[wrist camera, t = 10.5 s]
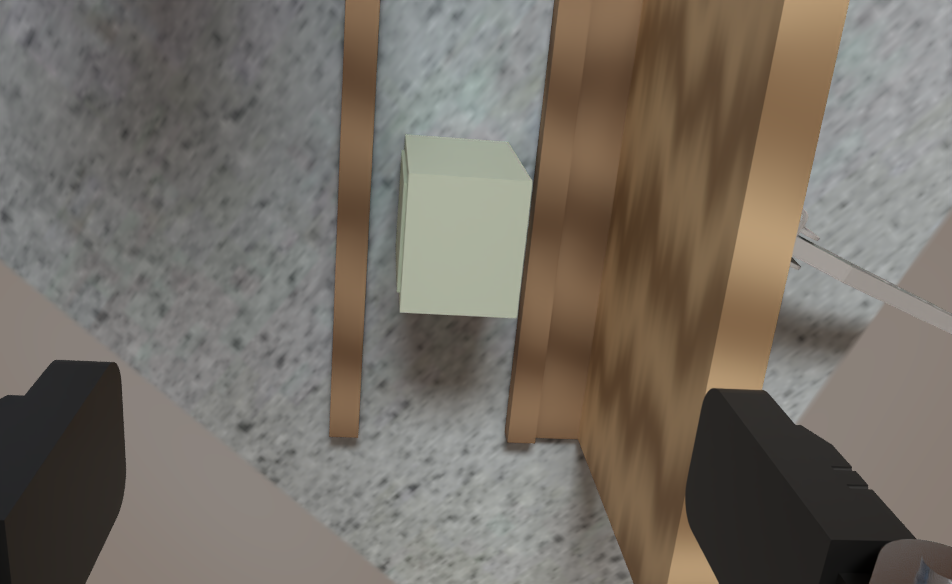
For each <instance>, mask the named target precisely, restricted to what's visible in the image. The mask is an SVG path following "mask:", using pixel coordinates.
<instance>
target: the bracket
mask: <svg viewBox="0 0 952 584" xmlns="http://www.w3.org/2000/svg"><path fill="white" fill-rule="evenodd" d="M801 214H802V215H803V218H802V220H801V221H800V222H799V227H798V231H797V236H796V240H795V244H794V249H793V253H792V255H793V256H794V257H796V258H798V259H800V260H802V261H804V262H806V263H807V264H809V265H811V266H813V267H815V268H817V269H819V270H820V271H822V272H824V273H826V274H828V275H830V276H832V277H834V278H835V279H837V280H839V281H841V282H843V283H845V284H847V285H849V286H851V287H853V288H855V289H858V290H860V291H862V292H864V293H866V294H868V295H870V296H872V297H874V298H876V299H879V300H881V301H883V302H885V303H887V304H889V305H891V306H893V307H895V308H897V309H900V310H902V311H904V312H906V313H908V314H910V315H912V316H914V317H916V318H918V319H920V320H923V321H925V322H927V323H929V324H931V325H933V326H935V327H937V328H939V329H941V330H944V331H946V332H948V333H950V334H952V313H949V312H948V311H946V310H944V309H942V308H940V307H938V306H936V305H934V304H932V303H930V302H928V301H926V300H924V299H922V298H920V297H918V296H916V295H914V294H912V293H910V292H908V291H906V290H904V289H902V288H900V287H898V286H896V285H894V284H892V283H890V282H888V281H886V280H884V279H882V278H880V277H878V276H876V275H874V274H872V273H870V272H868V271H867V270H865V269H863V268H861V267H859V266H857V265H855V264H853V263H851V262H849V261H847V260H845V259H843V258H841V257H839V256H837V255H836V254H834V253H832V252H830V251H828V250H826V249H824V248H822V247H819V246H817V245H816V244H814V243H812V242H810V241H808V240H806V239H804V238H803V237H801V236H799V235H798V234H799V233H800V232H801V233H803V234H804V235H806V236H808V237H810V238H812V239H814V240H816V241H818V240H819V239H820V238H819V237H818V236H817V235H815V234H814V233H813V232H812V231H810V230H809V229H808V228H807V227H806V226H804V225H805V224H806V222H807V220H808V213H807V212H806V211H805V210H804V209H802V213H801ZM790 266H791V267H793V268H795V269H797V270H799V269H800V267H801V266H800V265H799V264H798V263H797V262H796V261H795V260H794V259H793V258H791V262H790Z"/></svg>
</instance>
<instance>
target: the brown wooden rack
mask: <svg viewBox="0 0 952 584" xmlns="http://www.w3.org/2000/svg"><path fill="white" fill-rule="evenodd" d="M848 5H849V0H555V1H554V9H553V18H552V27H551V36H550V44H549V53H548V62H547V70H546V79H545V88H544V96H543V105H542V114H541V122H540V131H539V140H538V148H537V157H536V166H535V174H534V183H533V192H532V200H531V209H530V218H529V226H528V235H527V244H526V252H525V261H524V270H523V278H522V287H521V296H520V304H519V313H518V322H517V330H516V339H515V348H514V356H513V365H512V374H511V383H510V391H509V400H508V409H507V417H506V426H505V434H506V438H507V442H508V443H535V439H536V438H555V439H578V441H579V443H580V446H581V448H582V451H583V453H584V456H585V459H586V461H587V464H588V466H589V469H590V472H591V474H592V477H593V479H594V482H595V484H596V487H597V490H598V492H599V495H600V497H601V500H602V503H603V505H604V508H605V510H606V513H607V516H608V518H609V521H610V523H611V526H612V528H613V531H614V534H615V536H616V539H617V541H618V544H619V547H620V549H621V552H622V554H623V557H624V559H625V562H626V565H627V567H628V570H629V572H630V575H631V578H632V580H633V583H634V584H718V581H717V579H716V577H715V575H714V573H713V571H712V569H711V567H710V565H709V563H708V561H707V559H706V558H705V556H704V554H703V552H702V550H701V548H700V546H699V544H698V542H697V540H696V538H695V536H694V535H693V533H692V531H691V528H690V526H689V523H688V519H687V514H686V506H685V490H686V482H687V477H688V472H689V467H690V462H691V457H692V452H693V447H694V442H695V437H696V432H697V427H698V422H699V417H700V412H701V407H702V403H703V400H704V397H705V395H706V393H707V392H708V391H709V390H710V389H712V388H724V389H749V390H762V386H763V382H764V378H765V373H766V369H767V364H768V360H769V355H770V351H771V346H772V342H773V338H774V333H775V329H776V324H777V320H778V315H779V311H780V307H781V302H782V298H783V293H784V289H785V284H786V280H787V275H788V271H789V267H790V262H791V258H792V253H793V249H794V244H795V240H796V236H797V231H798V227H799V222H800V218H801V213H802V209H803V204H804V200H805V196H806V191H807V187H808V182H809V178H810V173H811V169H812V165H813V160H814V156H815V151H816V147H817V142H818V138H819V133H820V129H821V125H822V120H823V116H824V111H825V107H826V102H827V98H828V93H829V89H830V85H831V80H832V76H833V71H834V67H835V62H836V58H837V54H838V49H839V45H840V40H841V36H842V31H843V27H844V22H845V18H846V14H847V9H848ZM379 13H380V0H346V4H345V31H344V57H343V84H342V111H341V138H340V165H339V191H338V218H337V245H336V272H335V299H334V325H333V352H332V379H331V406H330V432H329V437H354V438H358V430H359V411H360V391H361V371H362V352H363V332H364V312H365V292H366V272H367V252H368V232H369V212H370V192H371V172H372V152H373V132H374V113H375V93H376V73H377V53H378V33H379Z"/></svg>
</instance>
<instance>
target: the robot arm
mask: <svg viewBox="0 0 952 584" xmlns="http://www.w3.org/2000/svg"><path fill="white" fill-rule="evenodd" d="M122 403H123V402H122V384H121V375H120V370H119V368H118V365H117V364H116V363H115V362H96V361H72V360H71V361H70V360H54V361H53V362H52V363H51V364H50V365H49V366H48V367H47V369H46V370H45V371H44V372H43V373H42V375H41V376H40V377H39V379H38V380H37V381H36V382H35V383H34V385H33V386H32V387H31V388H30V390H29V391H28V392H27V393H26V394H25V396H18V395H7V396H5V397H3V398H1V399H0V584H85V583H86V581H87V579H88V577H89V575H90V573H91V571H92V568H93V566H94V564H95V562H96V560H97V558H98V556H99V554H100V552H101V550H102V548H103V546H104V543H105V541H106V539H107V537H108V535H109V533H110V531H111V529H112V526H113V525H114V522H115V520H116V518H117V516H118V514H119V511H120V508H121V504H122V500H123V496H124V489H125V479H126V458H125V440H124V422H123V404H122ZM685 506H686V514H687V519H688V523H689V526H690V528H691V531H692V533H693V535H694V536H695V538H696V540H697V542H698V544H699V546H700V548H701V550H702V552H703V554H704V556H705V558H706V559H707V561H708V563H709V565H710V567H711V569H712V571H713V573H714V575H715V577H716V579H717V581H718V582H719V584H952V547H951V546H947V545H944V544H941V543H937V542H932V541H927V540H920V539H916V538H915V537H914V536H913V535H912V534H911V532H910V531H909V530H908V529H907V528H906V527H905V526H904V524H903V523H902V522H901V521H900V520H899V519H898V518H897V517H896V516H895V514H894V513H893V512H892V511H891V510H890V509H889V508H888V507H887V506H886V504H885V503H884V502H883V501H882V500H881V499H880V498H879V497H878V496H877V494H876V493H875V492H874V491H873V490H868V485H867V483H866V482H865V481H864V480H863V479H862V478H861V476H860V475H859V474H858V473H857V472H856V471H852V467H851V465H850V464H849V463H848V462H847V461H846V460H845V459H844V458H843V456H842V455H841V454H840V453H839V452H838V451H837V450H836V449H835V447H834V446H833V445H832V444H830V443H828V442H826V441H825V440H824V439H822V438H820V437H819V436H817V435H816V434H814V433H812V432H811V431H809V430H808V429H806V428H805V427H803V426H801V425H795V424H794V423H793V422H792V420H791V419H790V418H789V417H788V416H787V415H786V413H785V412H784V411H783V410H782V409H781V408H780V406H779V405H778V404H777V403H776V402H775V401H774V399H773V398H772V397H771V396H770V395H769V394H768V393H767V392H766V391H764V390H749V389H724V388H712V389H710V390H709V391H708V392H707V393H706V395H705V397H704V400H703V403H702V407H701V412H700V417H699V422H698V427H697V432H696V437H695V442H694V447H693V452H692V457H691V462H690V467H689V472H688V477H687V482H686V490H685Z"/></svg>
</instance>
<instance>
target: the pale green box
mask: <svg viewBox="0 0 952 584" xmlns="http://www.w3.org/2000/svg"><path fill="white" fill-rule="evenodd" d="M532 182H533V181H532V180H531V178H530V177H529V175H528V173H527V172H526V170H525V168H524V167H523V165H522V164H521V162H520V160H519V159H518V157H517V156H516V154H515V152H514V151H513V149H512V148H511V146H510V144H509V143H508V142H502V141H488V140H474V139H461V138H447V137H433V136H420V135H406V134H405V148H404V150H402V153H401V169H400V185H399V201H398V217H397V233H396V277H397V292H399V304H400V313H420V314H440V315H460V316H480V317H500V318H517V312H518V304H519V295H520V286H521V278H522V269H523V260H524V252H525V243H526V234H527V226H528V217H529V208H530V200H531V191H532Z"/></svg>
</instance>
